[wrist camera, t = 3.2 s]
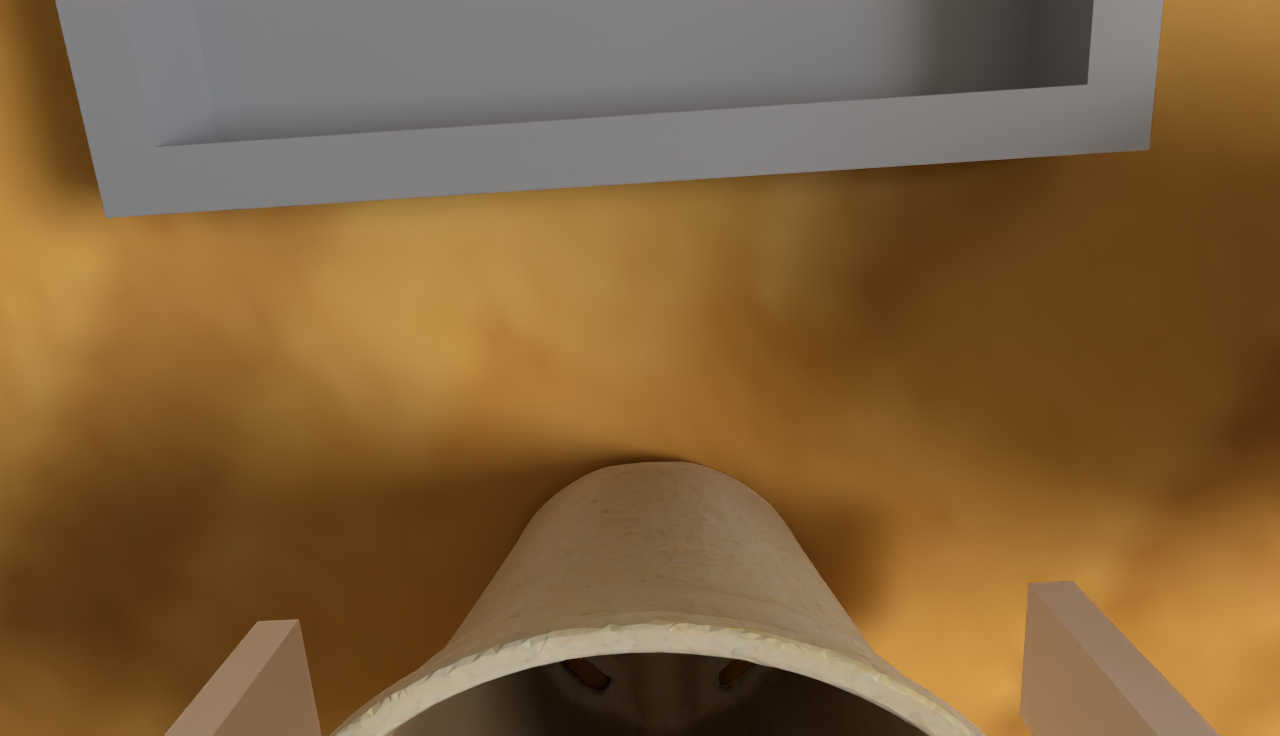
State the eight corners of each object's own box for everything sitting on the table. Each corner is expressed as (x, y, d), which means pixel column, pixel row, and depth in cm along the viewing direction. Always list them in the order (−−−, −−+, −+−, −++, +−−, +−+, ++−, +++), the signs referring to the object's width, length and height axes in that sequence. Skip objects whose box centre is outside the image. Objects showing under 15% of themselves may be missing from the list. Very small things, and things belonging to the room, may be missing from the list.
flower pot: (386, 719, 18) (169, 1208, 10) (486, 318, 16) (309, 518, 7) (790, 820, 19) (905, 1357, 11) (945, 449, 16) (1253, 766, 8)
